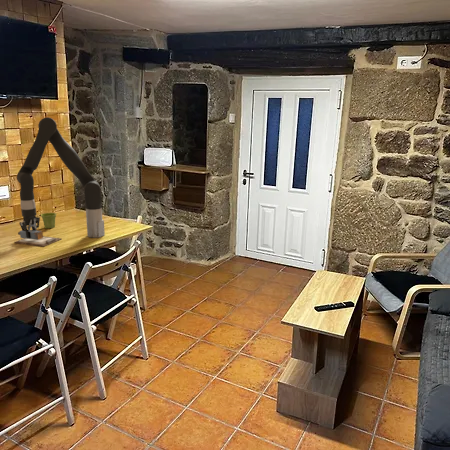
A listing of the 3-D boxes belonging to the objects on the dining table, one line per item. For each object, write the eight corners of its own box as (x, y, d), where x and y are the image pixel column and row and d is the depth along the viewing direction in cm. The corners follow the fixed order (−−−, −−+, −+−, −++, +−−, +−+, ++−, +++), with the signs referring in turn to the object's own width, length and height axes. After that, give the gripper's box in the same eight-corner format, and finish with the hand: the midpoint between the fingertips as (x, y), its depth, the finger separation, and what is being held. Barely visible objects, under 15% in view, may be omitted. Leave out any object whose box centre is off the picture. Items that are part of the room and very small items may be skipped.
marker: (43, 237, 241) (42, 231, 240) (38, 239, 237) (37, 232, 236) (22, 235, 245) (21, 229, 244) (17, 237, 241) (16, 230, 240)
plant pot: (38, 228, 270) (37, 214, 268) (50, 224, 279) (49, 212, 276) (48, 230, 266) (47, 216, 264) (60, 226, 274) (59, 213, 272)
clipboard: (61, 239, 248) (61, 236, 247) (44, 246, 234) (43, 243, 233) (33, 235, 253) (33, 233, 253) (14, 243, 239) (14, 239, 239)
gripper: (24, 210, 228) (28, 241, 233) (42, 205, 241) (45, 234, 246) (13, 209, 230) (17, 239, 235) (31, 204, 243) (35, 233, 248)
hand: (31, 236), depth 240 cm, fingers closed on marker, 4 cm apart
